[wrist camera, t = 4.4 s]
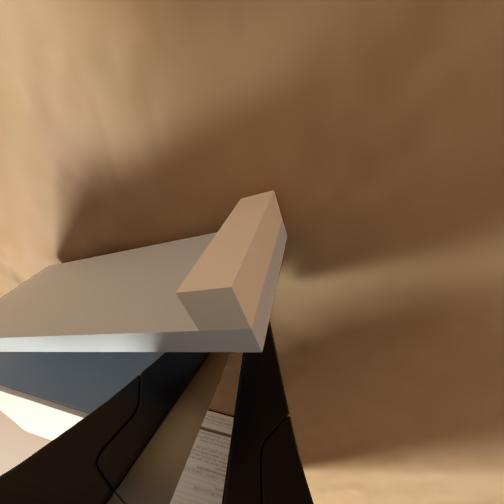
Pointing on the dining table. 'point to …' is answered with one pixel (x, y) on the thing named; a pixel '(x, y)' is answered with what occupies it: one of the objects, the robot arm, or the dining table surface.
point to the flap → (158, 293)
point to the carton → (63, 385)
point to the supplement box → (206, 463)
